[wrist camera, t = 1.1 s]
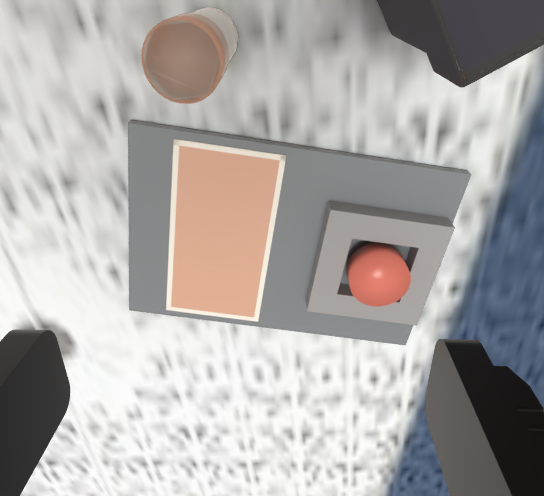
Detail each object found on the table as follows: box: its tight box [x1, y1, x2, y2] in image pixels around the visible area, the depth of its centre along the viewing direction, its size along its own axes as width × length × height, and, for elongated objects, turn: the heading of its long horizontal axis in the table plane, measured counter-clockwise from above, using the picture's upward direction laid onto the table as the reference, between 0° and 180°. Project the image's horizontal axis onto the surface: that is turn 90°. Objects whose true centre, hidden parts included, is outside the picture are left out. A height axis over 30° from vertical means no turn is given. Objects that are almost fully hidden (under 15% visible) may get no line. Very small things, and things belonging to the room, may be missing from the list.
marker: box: [142, 7, 238, 104], centre depth 25 cm, size 4×4×10 cm
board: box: [128, 120, 471, 345], centre depth 36 cm, size 24×16×2 cm, turn 82°
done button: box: [346, 243, 411, 307], centre depth 35 cm, size 4×4×2 cm
